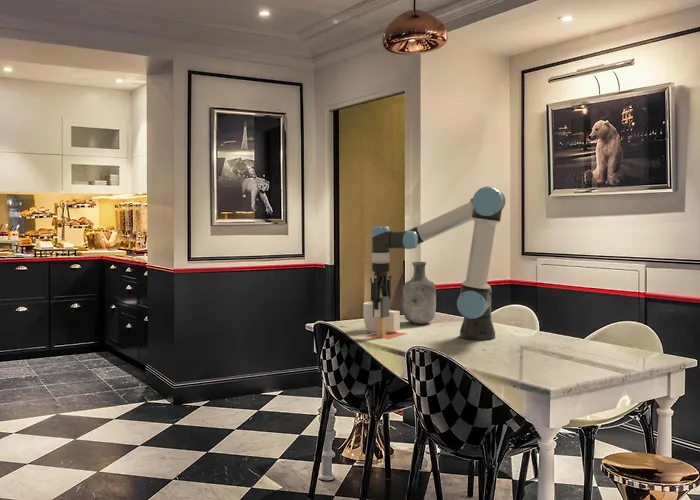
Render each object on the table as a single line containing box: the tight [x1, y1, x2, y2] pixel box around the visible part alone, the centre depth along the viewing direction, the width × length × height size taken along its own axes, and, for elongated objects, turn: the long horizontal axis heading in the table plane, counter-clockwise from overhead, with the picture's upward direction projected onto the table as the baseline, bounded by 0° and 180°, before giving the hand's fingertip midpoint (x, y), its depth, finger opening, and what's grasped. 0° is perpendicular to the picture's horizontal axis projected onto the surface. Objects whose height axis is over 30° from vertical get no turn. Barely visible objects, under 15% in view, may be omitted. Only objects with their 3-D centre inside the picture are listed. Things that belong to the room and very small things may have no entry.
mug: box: [362, 301, 391, 333], centre depth 313 cm, size 15×11×13 cm
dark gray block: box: [373, 295, 390, 318], centre depth 294 cm, size 5×5×9 cm
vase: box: [402, 261, 437, 325], centre depth 332 cm, size 16×16×30 cm
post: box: [376, 317, 386, 339], centre depth 295 cm, size 3×3×9 cm
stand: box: [365, 309, 408, 340], centre depth 300 cm, size 12×17×10 cm
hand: (381, 315), depth 294 cm, fingers closed on dark gray block, 5 cm apart
